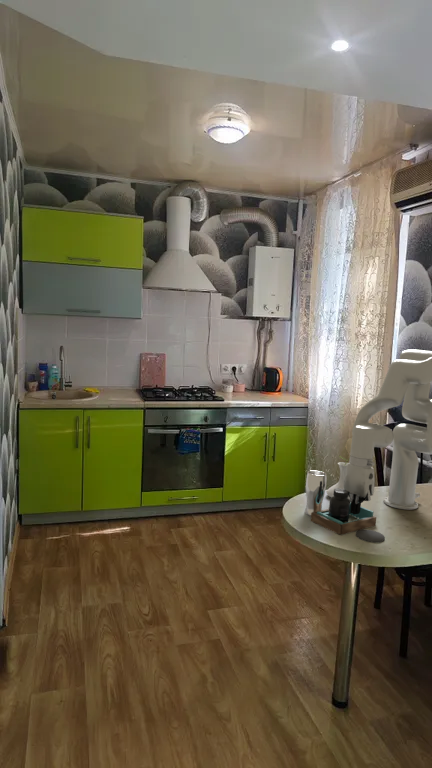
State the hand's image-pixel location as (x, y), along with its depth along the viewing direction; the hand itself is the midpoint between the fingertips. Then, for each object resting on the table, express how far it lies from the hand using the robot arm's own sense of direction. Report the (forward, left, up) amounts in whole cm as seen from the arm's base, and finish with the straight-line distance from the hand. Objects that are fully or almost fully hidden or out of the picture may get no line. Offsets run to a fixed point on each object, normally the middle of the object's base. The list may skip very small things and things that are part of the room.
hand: (354, 513), depth 180 cm
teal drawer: (+6, 0, -3) cm, 6 cm away
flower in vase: (-15, -18, -3) cm, 24 cm away
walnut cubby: (+6, 0, -3) cm, 6 cm away
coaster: (+7, +12, -3) cm, 14 cm away
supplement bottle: (+8, 0, -3) cm, 9 cm away
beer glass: (+9, -11, -3) cm, 14 cm away
